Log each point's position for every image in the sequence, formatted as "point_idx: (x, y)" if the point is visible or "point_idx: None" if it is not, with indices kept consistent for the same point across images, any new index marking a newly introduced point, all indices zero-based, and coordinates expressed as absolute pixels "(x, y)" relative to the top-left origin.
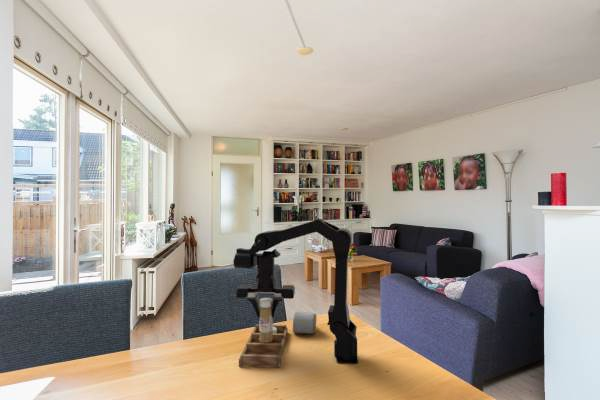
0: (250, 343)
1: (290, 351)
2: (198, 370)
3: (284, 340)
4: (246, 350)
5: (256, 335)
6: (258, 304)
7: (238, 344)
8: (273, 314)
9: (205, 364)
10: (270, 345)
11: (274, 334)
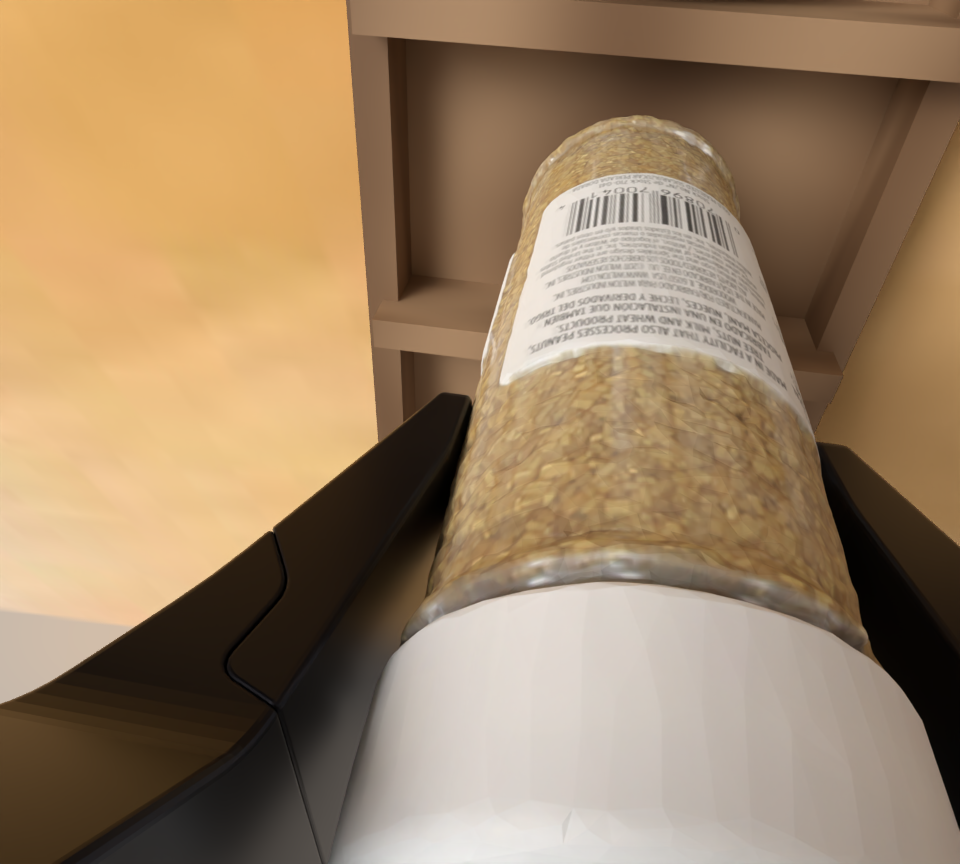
0: (423, 338)
1: (948, 275)
2: (130, 483)
3: (940, 147)
4: (404, 358)
5: (452, 38)
6: (348, 707)
7: (232, 62)
8: None
9: (127, 425)
10: None
11: (790, 65)
